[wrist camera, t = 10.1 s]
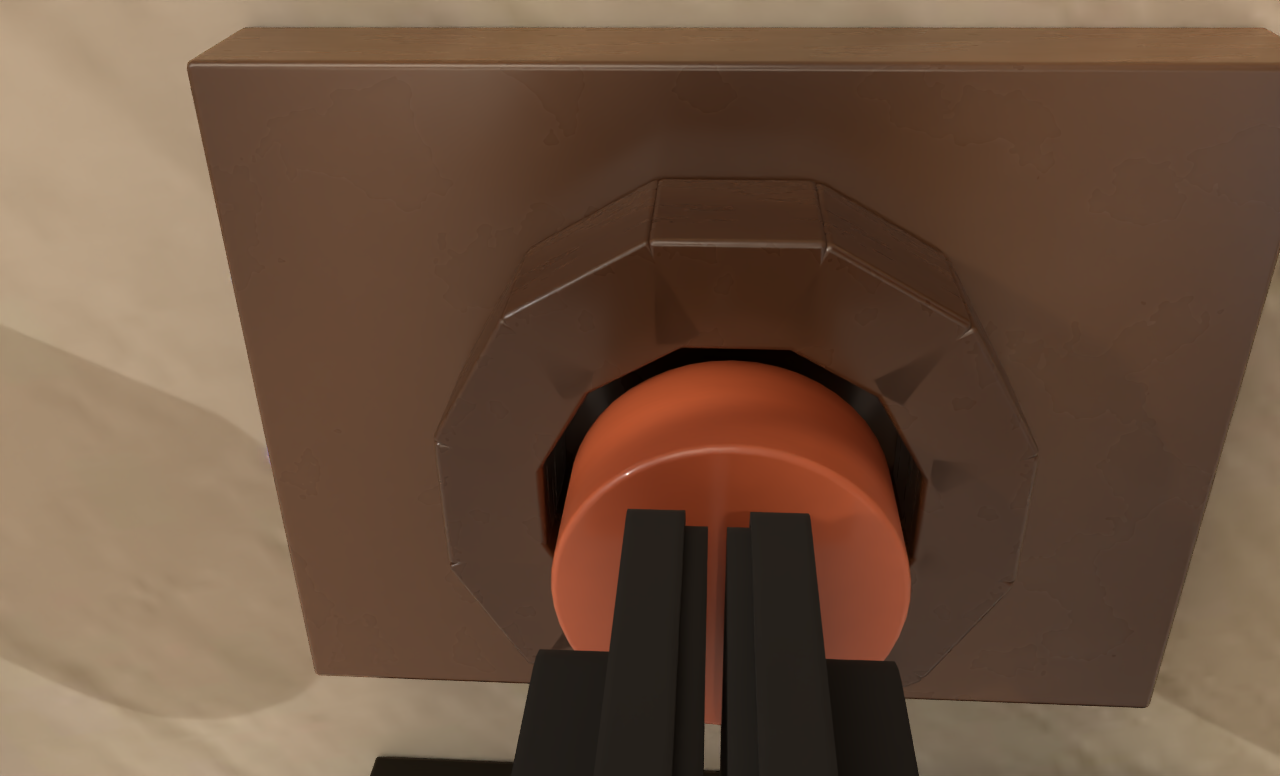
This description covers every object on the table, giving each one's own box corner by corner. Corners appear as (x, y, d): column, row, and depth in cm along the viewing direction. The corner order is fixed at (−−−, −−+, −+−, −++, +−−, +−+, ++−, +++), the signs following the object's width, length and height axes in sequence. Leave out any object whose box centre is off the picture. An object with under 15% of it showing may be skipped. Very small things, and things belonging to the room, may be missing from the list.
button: (907, 360, 12) (931, 452, 10) (876, 624, 14) (893, 734, 12) (562, 354, 12) (539, 442, 11) (576, 613, 14) (559, 721, 12)
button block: (1269, 26, 13) (1431, 117, 10) (1115, 628, 17) (1195, 816, 14) (241, 25, 14) (102, 110, 11) (347, 601, 18) (271, 774, 15)
